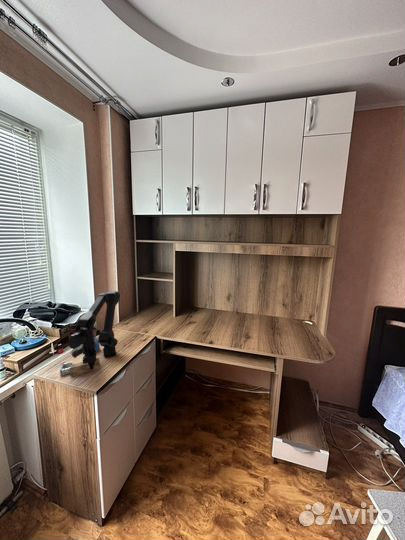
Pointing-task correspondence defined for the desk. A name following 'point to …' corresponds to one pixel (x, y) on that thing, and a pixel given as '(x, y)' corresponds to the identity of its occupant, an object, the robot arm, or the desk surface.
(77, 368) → the rail
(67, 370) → the bracket
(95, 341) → the perfume bottle
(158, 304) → the desk surface
